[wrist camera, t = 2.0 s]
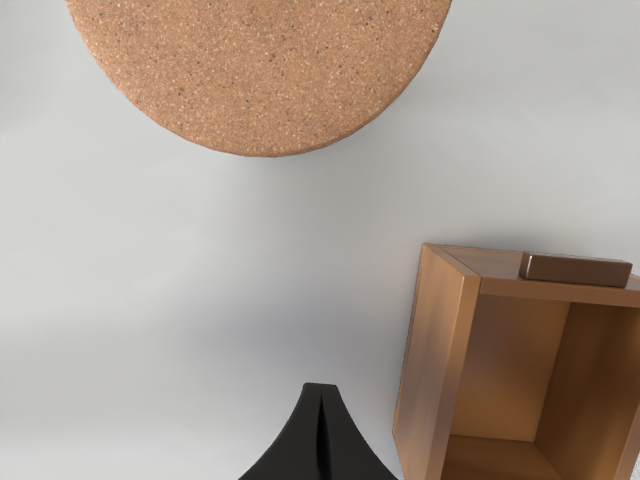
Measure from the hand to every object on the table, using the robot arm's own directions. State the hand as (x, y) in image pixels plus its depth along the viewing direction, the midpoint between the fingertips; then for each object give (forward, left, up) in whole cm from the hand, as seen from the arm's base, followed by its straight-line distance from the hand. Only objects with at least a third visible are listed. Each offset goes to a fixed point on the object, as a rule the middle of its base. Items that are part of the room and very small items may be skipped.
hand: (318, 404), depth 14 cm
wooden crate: (0, -10, -6) cm, 11 cm away
